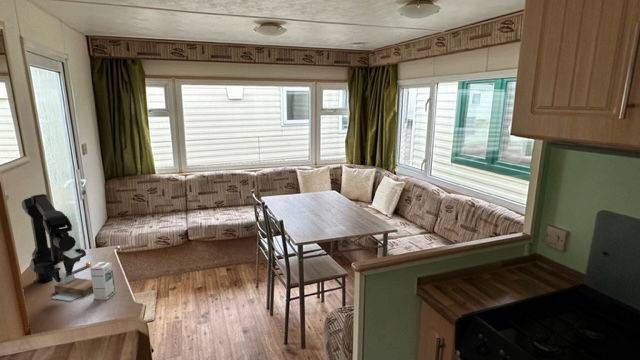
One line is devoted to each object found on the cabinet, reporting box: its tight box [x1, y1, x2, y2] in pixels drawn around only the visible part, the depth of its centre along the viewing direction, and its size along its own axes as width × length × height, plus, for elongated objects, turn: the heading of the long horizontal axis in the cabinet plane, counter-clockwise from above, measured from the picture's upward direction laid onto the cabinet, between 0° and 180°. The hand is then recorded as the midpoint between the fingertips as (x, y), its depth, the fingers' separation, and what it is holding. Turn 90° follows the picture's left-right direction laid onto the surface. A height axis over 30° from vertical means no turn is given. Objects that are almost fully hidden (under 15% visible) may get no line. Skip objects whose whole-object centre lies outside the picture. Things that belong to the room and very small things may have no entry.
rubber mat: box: [51, 292, 82, 303], centre depth 147 cm, size 10×5×1 cm, turn 77°
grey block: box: [52, 271, 76, 284], centre depth 146 cm, size 6×4×2 cm
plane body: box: [53, 277, 94, 297], centre depth 154 cm, size 16×8×3 cm, turn 77°
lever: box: [72, 261, 92, 275], centre depth 159 cm, size 12×2×5 cm, turn 161°
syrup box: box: [89, 261, 116, 301], centre depth 147 cm, size 6×6×14 cm
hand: (63, 279), depth 146 cm, fingers closed on grey block, 4 cm apart
